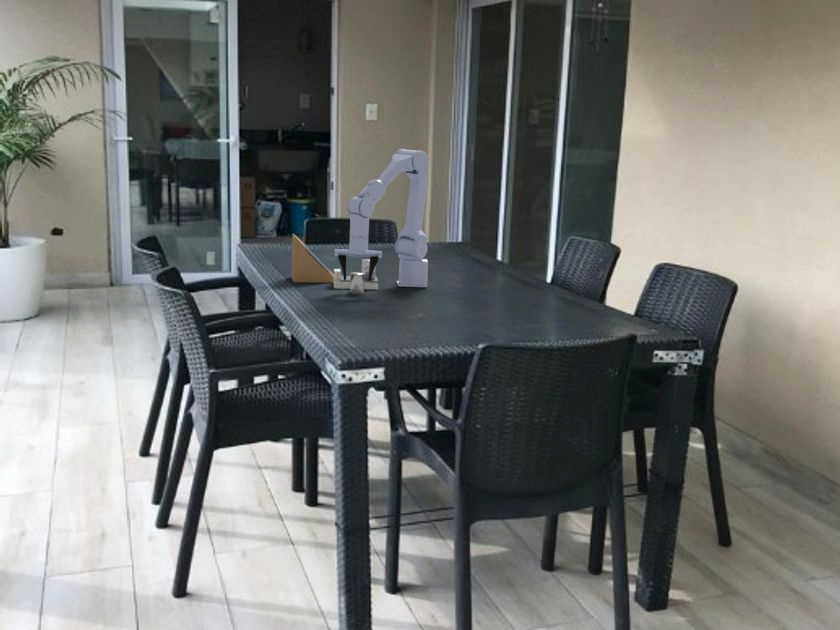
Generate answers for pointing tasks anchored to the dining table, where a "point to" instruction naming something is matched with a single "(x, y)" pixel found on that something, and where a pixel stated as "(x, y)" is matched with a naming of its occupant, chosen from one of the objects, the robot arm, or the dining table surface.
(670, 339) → the dining table surface
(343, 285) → the grey boxy piece
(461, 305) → the dining table surface
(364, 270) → the steel weight
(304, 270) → the sandwich container
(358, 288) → the cylinder
